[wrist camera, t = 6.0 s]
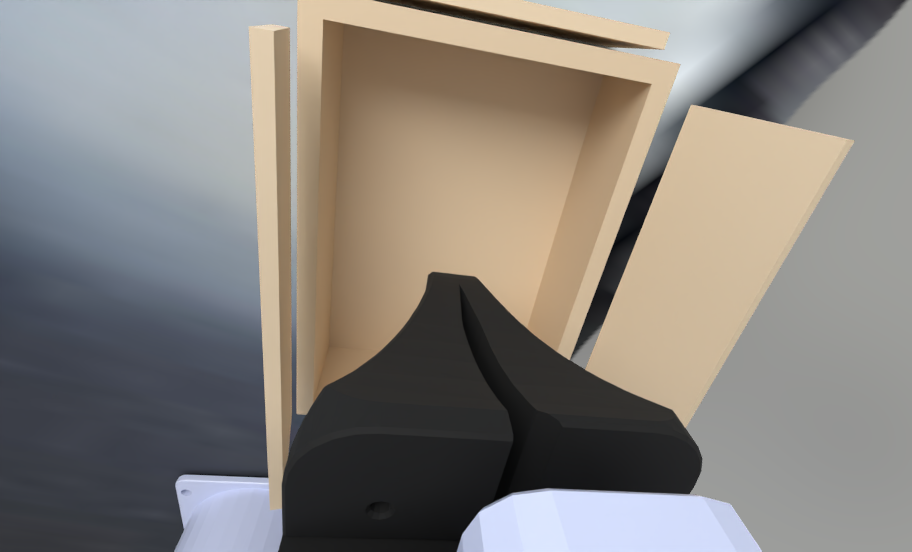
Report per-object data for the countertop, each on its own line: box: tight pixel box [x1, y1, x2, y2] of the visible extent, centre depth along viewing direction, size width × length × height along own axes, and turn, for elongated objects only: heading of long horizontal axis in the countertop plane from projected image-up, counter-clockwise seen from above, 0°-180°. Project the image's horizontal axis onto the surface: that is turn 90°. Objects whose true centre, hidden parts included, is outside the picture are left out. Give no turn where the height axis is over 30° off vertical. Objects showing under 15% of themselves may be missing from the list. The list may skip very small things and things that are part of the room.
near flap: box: [249, 25, 292, 510], centre depth 11 cm, size 12×4×1 cm
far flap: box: [585, 105, 854, 428], centre depth 13 cm, size 12×4×1 cm
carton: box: [297, 0, 680, 415], centre depth 16 cm, size 15×10×4 cm, turn 170°
